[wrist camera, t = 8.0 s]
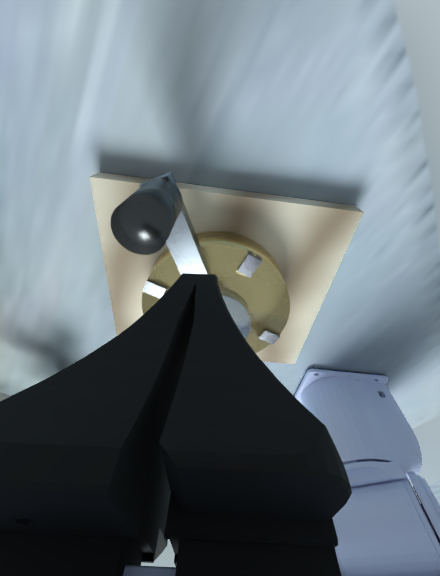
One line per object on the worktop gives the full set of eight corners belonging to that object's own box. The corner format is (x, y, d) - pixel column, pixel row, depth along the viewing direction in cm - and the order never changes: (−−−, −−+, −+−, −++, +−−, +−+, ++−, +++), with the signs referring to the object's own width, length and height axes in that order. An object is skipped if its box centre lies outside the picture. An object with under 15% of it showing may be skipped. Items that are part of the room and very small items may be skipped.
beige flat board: (354, 205, 18) (365, 213, 16) (291, 352, 27) (294, 365, 26) (99, 172, 17) (88, 177, 16) (124, 336, 26) (118, 348, 25)
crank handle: (292, 326, 23) (316, 406, 16) (180, 349, 25) (165, 426, 19) (254, 135, 14) (275, 151, 8) (89, 193, 16) (5, 241, 10)
